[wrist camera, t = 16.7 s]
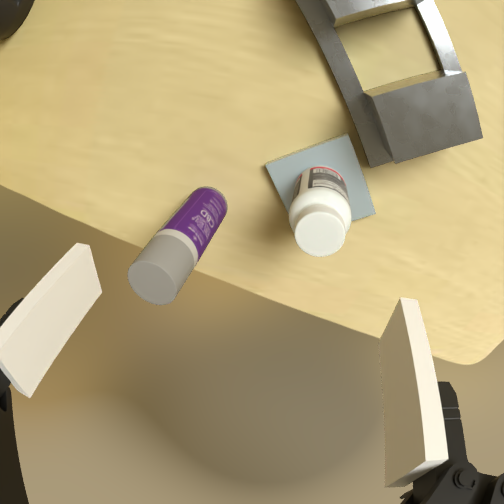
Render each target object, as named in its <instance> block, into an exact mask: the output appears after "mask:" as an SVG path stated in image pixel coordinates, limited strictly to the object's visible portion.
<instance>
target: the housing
mask: <svg viewBox="0 0 504 504" xmlns="http://www.w3.org/2000/svg"><path fill="white" fill-rule="evenodd" d="M295 1H296V2H297V4H298V6H299V8H300V9H301V11H302V13H303V15H304V17H305V18H306V20H307V22H308V24H309V26H310V28H311V30H312V32H313V33H314V35H315V37H316V39H317V41H318V43H319V45H320V47H321V49H322V51H323V53H324V55H325V57H326V60H327V62H328V64H329V66H330V68H331V70H332V72H333V74H334V77H335V79H336V81H337V83H338V86H339V88H340V90H341V92H342V95H343V97H344V100H345V102H346V104H347V107H348V109H349V112H350V114H351V117H352V119H353V122H354V124H355V127H356V129H357V132H358V134H359V137H360V140H361V143H362V145H363V148H364V151H365V154H366V156H367V159H368V162H369V165H370V167H371V168H372V167H375V166H378V165H382V164H385V163H388V162H391V161H394V163H395V164H396V163H399V162H403V161H406V160H409V159H413V158H416V157H419V156H422V155H426V154H429V153H433V152H436V151H439V150H443V149H446V148H450V147H453V146H457V145H460V144H464V143H467V142H471V141H474V140H478V139H481V138H483V136H482V131H481V127H480V122H479V118H478V114H477V110H476V106H475V102H474V98H473V95H472V91H471V88H470V85H469V81H468V78H467V75H466V72H462V70H461V67H460V64H459V61H458V58H457V56H456V53H455V50H454V48H453V45H452V42H451V40H450V37H449V35H448V32H447V30H446V28H445V25H444V23H443V21H442V18H441V16H440V14H439V12H438V10H437V8H436V5H435V3H434V1H433V0H295ZM414 6H415V8H416V10H417V12H418V14H419V16H420V18H421V21H422V23H423V25H424V27H425V29H426V32H427V34H428V36H429V39H430V41H431V44H432V46H433V49H434V51H435V54H436V56H437V59H438V62H439V64H440V67H441V70H438V71H434V72H430V73H426V74H422V75H418V76H414V77H411V78H407V79H403V80H400V81H396V82H393V83H389V84H386V85H383V86H379V87H376V88H373V89H369V90H366V91H363V90H362V87H361V85H360V83H359V80H358V78H357V76H356V73H355V71H354V69H353V67H352V64H351V62H350V60H349V58H348V56H347V54H346V51H345V49H344V47H343V45H342V43H341V41H340V39H339V37H338V35H337V33H336V31H335V29H334V28H335V27H338V26H341V25H344V24H347V23H350V22H354V21H357V20H361V19H364V18H368V17H371V16H375V15H379V14H383V13H387V12H391V11H395V10H400V9H404V8H409V7H414Z"/></svg>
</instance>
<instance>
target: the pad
mask: <svg viewBox="0 0 504 504" xmlns="http://www.w3.org/2000/svg"><path fill="white" fill-rule="evenodd" d="M317 165H324V166H328V167H331V168H333V169H335V170H336V171H338V172H339V173H340V174H341V176H342V177H343V179H344V181H345V183H346V187H347V192H348V197H349V203H350V208H351V216H352V218H351V221H354V220H357V219H360V218H364V217H367V216H370V215H373V214H376V213H375V209H374V206H373V203H372V200H371V197H370V194H369V191H368V188H367V185H366V182H365V179H364V176H363V173H362V170H361V167H360V165H359V162H358V159H357V156H356V154H355V151H354V148H353V146H352V143H351V140H350V138H349V135H348V133H346V134H343V135H340V136H337V137H335V138H332V139H329V140H326V141H323V142H320V143H318V144H315V145H312V146H309V147H307V148H304V149H301V150H298V151H296V152H293V153H290V154H288V155H285V156H282V157H280V158H277V159H275V160H272V161H270V162H267V163H266V165H265V166H266V168H267V170H268V172H269V174H270V176H271V178H272V180H273V182H274V184H275V187H276V189H277V191H278V193H279V195H280V197H281V199H282V201H283V204H284V206H285V208H286V210H287V212H288V214H289V210H290V206H291V202H292V198H293V193H294V188H295V184H296V181H297V179H298V177H299V175H300V174H301V173H302V172H303V171H304V170H306V169H307V168H309V167H312V166H317Z"/></svg>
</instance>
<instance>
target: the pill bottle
mask: <svg viewBox="0 0 504 504" xmlns="http://www.w3.org/2000/svg"><path fill="white" fill-rule="evenodd" d="M351 218H352V216H351V208H350V203H349V197H348V192H347V187H346V183H345V181H344V179H343V177H342V176H341V174H340V173H339V172H338V171H336V170H335V169H333V168H331V167H328V166H324V165H317V166H312V167H309V168H307V169H306V170H304V171H303V172H302V173H301V174H300V175H299V177H298V179H297V181H296V184H295V188H294V193H293V198H292V202H291V206H290V210H289V222H290V226H291V228H292V230H293V232H294V235H295V240H296V243H297V244H298V246H299V247H300V248H301V249H302V250H303V251H304V252H305V253H307V254H309V255H312V256H316V257H324V256H329V255H331V254H333V253H335V252H337V251H338V250H339V249H340V248H341V246H342V245H343V243H344V240H345V234H346V233H347V232H348V230H349V228H350V225H351Z"/></svg>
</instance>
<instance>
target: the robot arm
mask: <svg viewBox="0 0 504 504" xmlns="http://www.w3.org/2000/svg"><path fill="white" fill-rule="evenodd" d="M33 1H34V0H0V40H3V39H6V38H8V37H9V36H10V35H12V34H13V33H14V32H15V31H16V30H17V29H18V28H19V26H20V25H21V24H22V22H23V21H24V19H25V18H26V16H27V14H28V12H29V10H30V8H31V6H32V4H33ZM101 293H102V290H101V286H100V283H99V279H98V276H97V272H96V269H95V265H94V261H93V257H92V253H91V249H90V245H85V244H80V243H76V244H75V245H74V246H73V247H72V248H71V249H70V250H69V251H68V252H67V253H66V254H65V255H64V256H63V258H61V259H60V260H59V261H58V262H57V264H56V265H55V266H54V267H53V268H52V269H51V270H50V271H49V272H48V273H47V274H46V275H45V276H44V277H43V278H42V279H41V281H40V282H39V283H38V284H37V285H36V286H35V287H34V288H33V289H32V290H31V292H30V293H29V294H28V295H27V296H26V297H25V298H21V299H20V300H18V301H17V302H15V303H14V304H13V305H12V306H11V307H10V308H9V309H8V311H7V312H6V314H4V315H3V317H2V318H1V319H0V504H29V502H28V498H27V495H26V490H25V486H24V482H23V477H22V473H21V468H20V462H19V457H18V451H17V444H16V438H15V430H14V421H13V411H12V398H11V390H10V388H9V387H8V386H9V385H10V383H12V384H13V386H14V387H15V388H16V389H17V391H19V392H21V393H22V394H24V395H26V396H27V397H29V398H30V397H31V396H32V394H33V392H34V391H35V389H36V387H37V386H38V384H39V383H40V381H41V380H42V378H43V376H44V375H45V373H46V372H47V370H48V368H49V367H50V366H51V364H52V362H53V361H54V359H55V358H56V356H57V355H58V353H59V352H60V350H61V349H62V347H63V346H64V344H65V343H66V342H67V340H68V339H69V337H70V336H71V334H72V333H73V332H74V330H75V329H76V327H77V326H78V324H79V323H80V322H81V320H82V319H83V317H84V316H85V314H86V313H87V312H88V310H89V309H90V308H91V306H92V305H93V304H94V302H95V301H96V300H97V298H98V297H99V296H100V294H101ZM378 347H379V357H380V367H381V378H382V391H383V408H384V430H385V487H403V486H406V485H408V484H410V483H411V482H413V489H412V490H410V491H408V492H406V493H404V494H403V495H402V496H401V497H400V498H401V499H403V498H405V499H404V500H403V501H402V503H401V504H504V473H503V474H501V475H500V476H498V477H496V476H491V475H487V474H482V473H479V472H477V469H476V468H475V467H474V466H473V465H472V464H471V463H469V462H468V460H467V455H466V448H465V441H464V434H463V428H462V423H461V420H460V411H459V409H458V407H459V406H458V401H457V396H456V393H455V391H454V390H453V388H452V386H451V384H450V383H449V382H437V379H436V374H435V369H434V364H433V360H432V355H431V351H430V347H429V342H428V338H427V334H426V330H425V327H424V323H423V319H422V315H421V312H420V308H419V305H418V301H417V300H416V299H409V298H401V297H400V299H399V301H398V303H397V305H396V307H395V310H394V312H393V314H392V316H391V318H390V320H389V322H388V324H387V326H386V328H385V330H384V332H383V334H382V336H381V338H380V340H379V342H378Z"/></svg>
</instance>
